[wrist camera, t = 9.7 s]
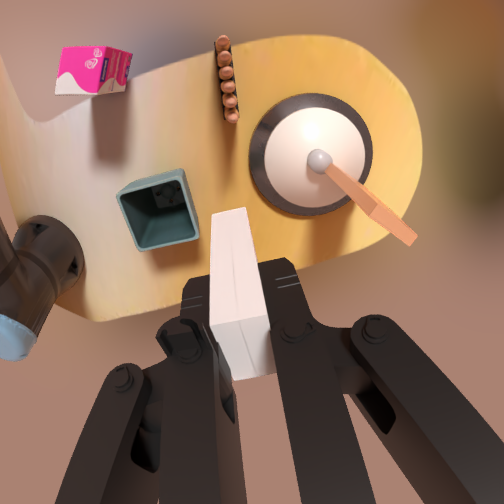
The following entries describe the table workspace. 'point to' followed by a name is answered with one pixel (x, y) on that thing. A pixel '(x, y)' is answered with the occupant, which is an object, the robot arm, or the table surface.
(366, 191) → the dial
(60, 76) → the supplement box
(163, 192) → the flower pot
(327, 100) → the base
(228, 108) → the ammunition clip
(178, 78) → the table surface
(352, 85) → the table surface
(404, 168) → the table surface
